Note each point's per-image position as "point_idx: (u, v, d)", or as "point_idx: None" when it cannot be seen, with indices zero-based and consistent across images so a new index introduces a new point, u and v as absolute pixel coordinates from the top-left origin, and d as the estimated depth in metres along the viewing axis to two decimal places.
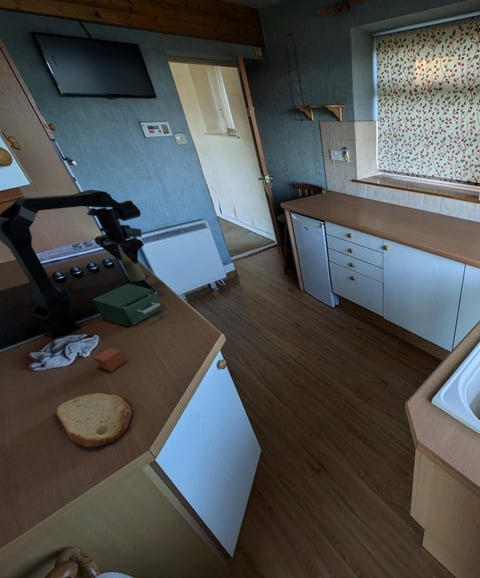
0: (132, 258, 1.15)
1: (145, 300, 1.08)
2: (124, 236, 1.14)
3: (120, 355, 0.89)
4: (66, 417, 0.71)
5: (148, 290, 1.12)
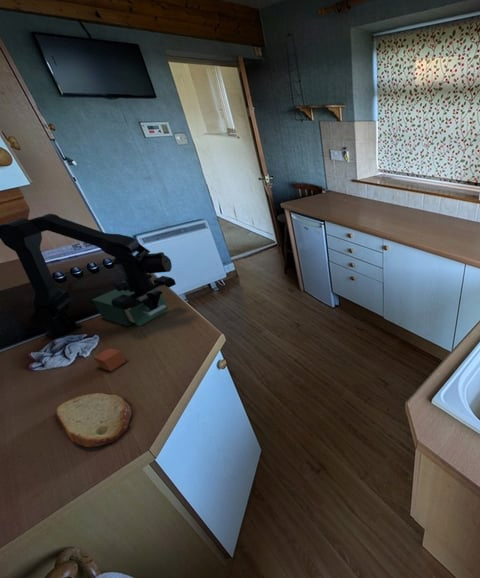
0: None
1: None
2: None
3: (120, 355, 0.89)
4: (66, 417, 0.71)
5: None
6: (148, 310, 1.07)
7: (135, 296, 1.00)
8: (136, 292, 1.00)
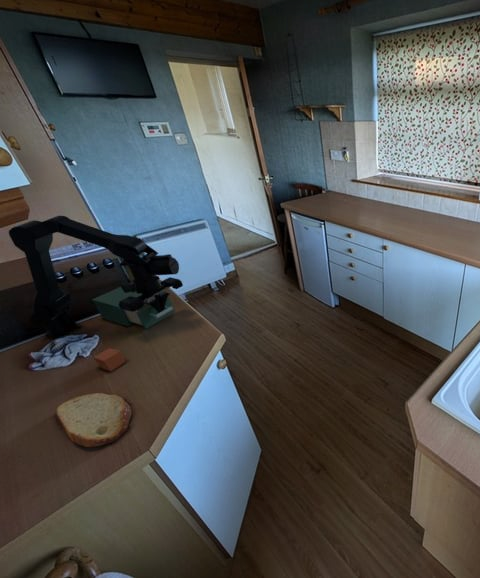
0: None
1: None
2: None
3: (120, 355, 0.89)
4: (66, 417, 0.71)
5: None
6: (155, 312, 1.06)
7: (142, 298, 0.99)
8: (143, 294, 0.99)
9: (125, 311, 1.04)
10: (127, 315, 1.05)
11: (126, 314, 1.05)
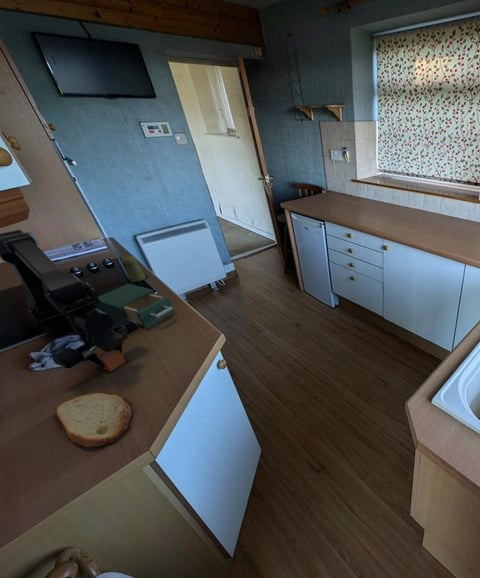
0: None
1: (158, 303, 1.06)
2: None
3: (120, 355, 0.89)
4: (66, 417, 0.71)
5: (148, 290, 1.12)
6: (155, 312, 1.06)
7: None
8: None
9: (125, 311, 1.04)
10: (127, 315, 1.05)
11: (126, 314, 1.05)
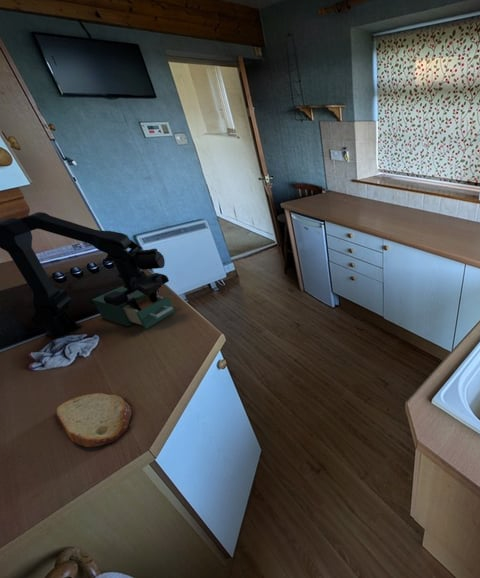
0: (131, 306, 1.04)
1: (158, 303, 1.06)
2: (130, 286, 1.00)
3: None
4: (66, 417, 0.71)
5: None
6: (155, 312, 1.06)
7: None
8: None
9: (125, 311, 1.04)
10: (127, 315, 1.05)
11: (126, 314, 1.05)
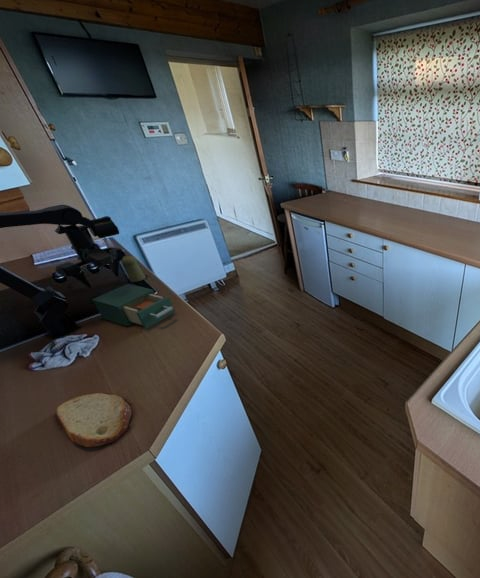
0: (80, 281, 1.03)
1: (158, 303, 1.06)
2: None
3: None
4: (66, 417, 0.71)
5: (148, 290, 1.12)
6: (155, 312, 1.06)
7: None
8: None
9: (125, 311, 1.04)
10: (127, 315, 1.05)
11: (126, 314, 1.05)
